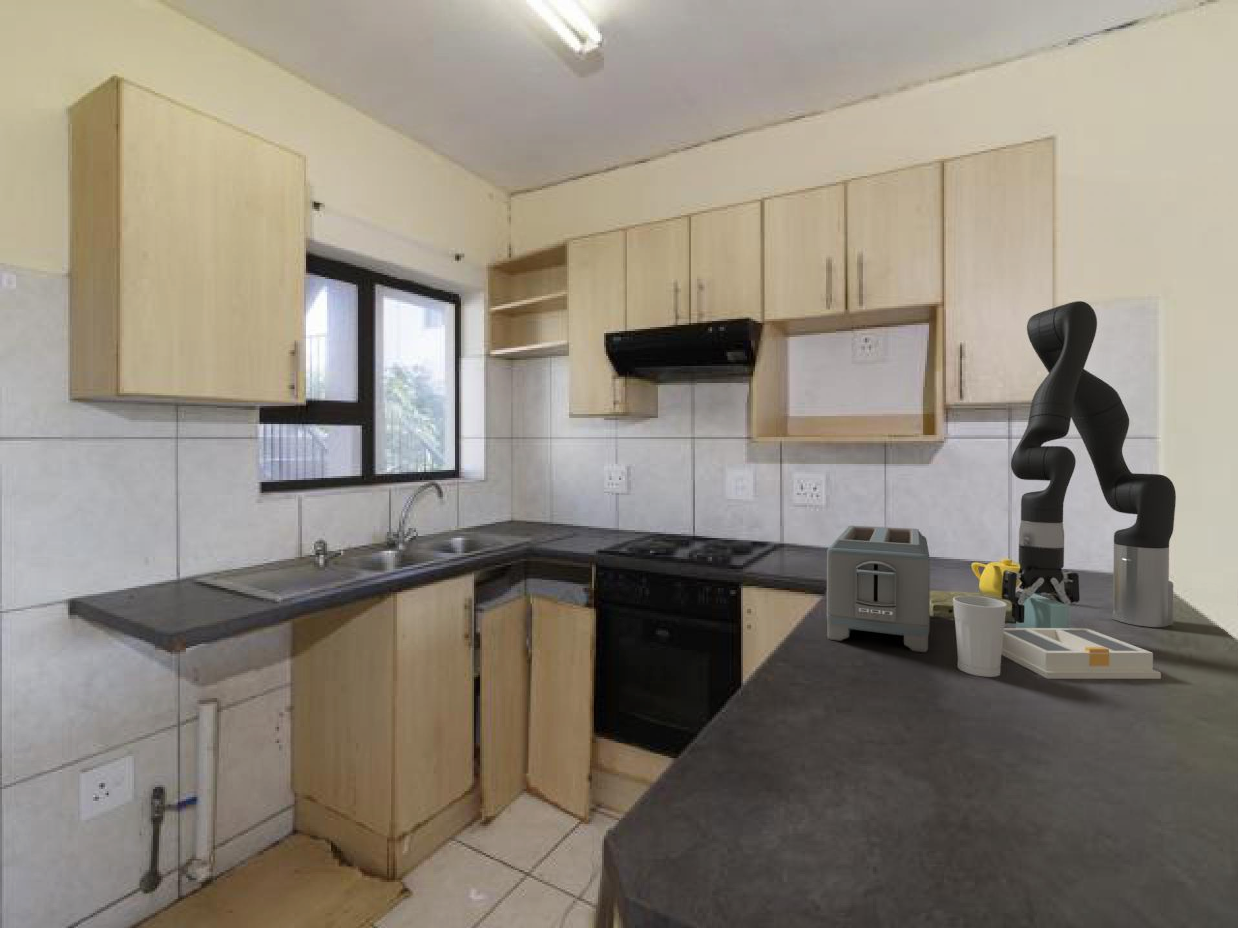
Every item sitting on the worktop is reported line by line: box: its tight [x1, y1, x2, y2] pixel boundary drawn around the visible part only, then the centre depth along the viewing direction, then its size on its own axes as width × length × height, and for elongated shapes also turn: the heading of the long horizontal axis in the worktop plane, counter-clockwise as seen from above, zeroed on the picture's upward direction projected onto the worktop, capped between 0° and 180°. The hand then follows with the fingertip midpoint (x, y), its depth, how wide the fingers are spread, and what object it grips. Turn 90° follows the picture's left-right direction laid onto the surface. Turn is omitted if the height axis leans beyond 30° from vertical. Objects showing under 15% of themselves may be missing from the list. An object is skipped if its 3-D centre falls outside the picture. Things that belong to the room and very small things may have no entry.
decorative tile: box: [930, 590, 1016, 623], centre depth 140 cm, size 19×20×4 cm
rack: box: [1001, 627, 1162, 680], centre depth 105 cm, size 19×16×5 cm
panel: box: [1015, 593, 1070, 628], centre depth 119 cm, size 4×10×8 cm, turn 0°
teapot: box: [970, 558, 1027, 599], centre depth 154 cm, size 14×13×10 cm
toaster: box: [826, 525, 931, 653], centre depth 125 cm, size 19×33×20 cm, turn 153°
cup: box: [953, 596, 1007, 678], centre depth 101 cm, size 8×8×12 cm
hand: (1039, 622), depth 119 cm, fingers open, 8 cm apart
